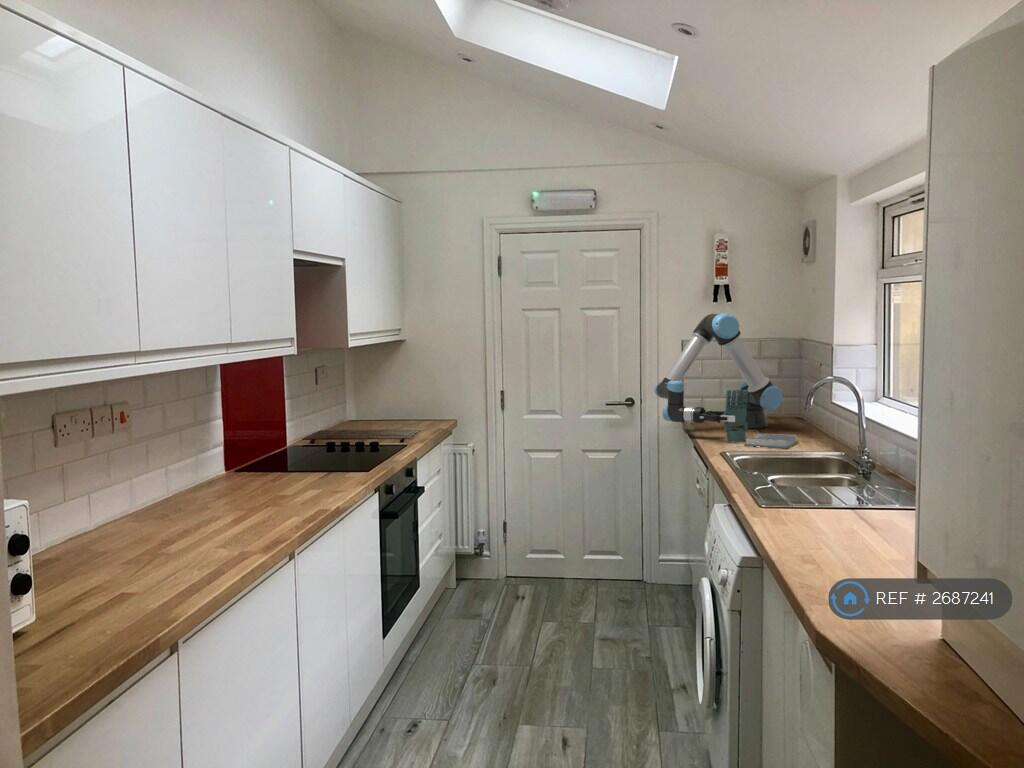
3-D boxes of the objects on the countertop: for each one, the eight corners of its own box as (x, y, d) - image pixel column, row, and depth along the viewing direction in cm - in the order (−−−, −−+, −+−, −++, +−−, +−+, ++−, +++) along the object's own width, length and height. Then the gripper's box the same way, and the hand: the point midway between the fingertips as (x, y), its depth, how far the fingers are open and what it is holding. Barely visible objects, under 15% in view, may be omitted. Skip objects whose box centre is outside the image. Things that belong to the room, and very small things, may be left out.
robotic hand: (714, 444, 369) (719, 395, 358) (715, 433, 378) (720, 385, 367) (745, 448, 365) (751, 399, 354) (746, 437, 374) (752, 388, 363)
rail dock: (757, 440, 367) (757, 432, 367) (798, 442, 357) (798, 435, 357) (744, 446, 353) (744, 438, 352) (785, 449, 342) (785, 441, 342)
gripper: (705, 419, 389) (749, 421, 376) (684, 426, 369) (730, 429, 356) (705, 403, 388) (749, 405, 376) (684, 410, 368) (730, 412, 356)
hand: (740, 417), depth 366 cm, fingers open, 12 cm apart
